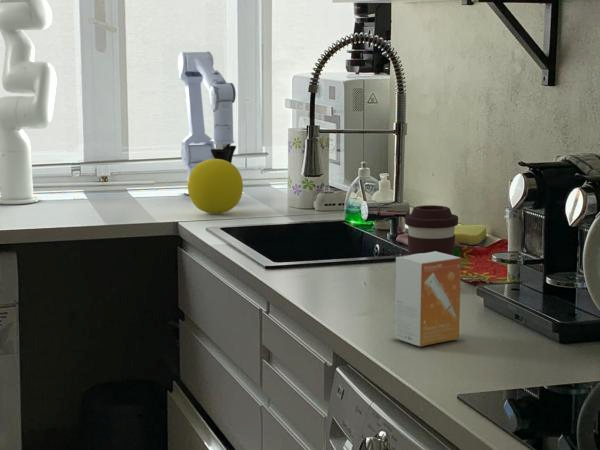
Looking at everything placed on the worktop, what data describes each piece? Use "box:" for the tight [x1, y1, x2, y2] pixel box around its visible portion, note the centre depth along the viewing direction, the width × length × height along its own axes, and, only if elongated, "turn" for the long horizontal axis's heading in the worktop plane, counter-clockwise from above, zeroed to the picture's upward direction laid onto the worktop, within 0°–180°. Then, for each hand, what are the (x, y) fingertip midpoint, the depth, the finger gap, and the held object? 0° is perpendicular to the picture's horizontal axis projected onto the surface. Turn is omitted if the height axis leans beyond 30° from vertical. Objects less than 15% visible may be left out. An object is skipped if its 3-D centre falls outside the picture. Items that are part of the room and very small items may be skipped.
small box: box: [394, 251, 462, 347], centre depth 161 cm, size 8×6×13 cm
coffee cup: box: [404, 204, 459, 256], centre depth 197 cm, size 10×10×15 cm
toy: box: [187, 159, 244, 215], centre depth 287 cm, size 15×15×15 cm
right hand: (224, 171), depth 306 cm, fingers open, 7 cm apart
